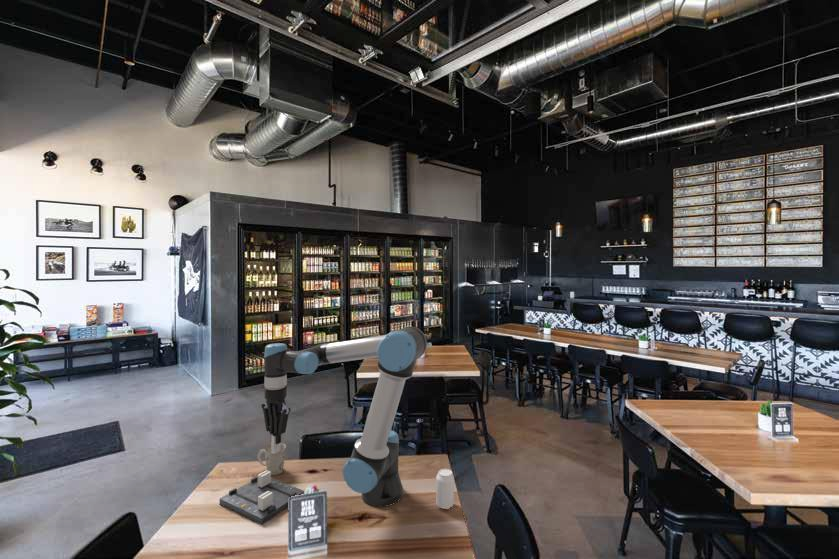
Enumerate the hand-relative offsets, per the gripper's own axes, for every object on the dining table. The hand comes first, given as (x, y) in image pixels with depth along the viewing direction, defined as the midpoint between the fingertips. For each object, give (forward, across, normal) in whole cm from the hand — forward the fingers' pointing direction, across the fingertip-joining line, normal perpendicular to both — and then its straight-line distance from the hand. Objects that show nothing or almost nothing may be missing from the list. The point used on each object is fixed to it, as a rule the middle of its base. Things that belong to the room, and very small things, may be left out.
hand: (275, 451), depth 136 cm
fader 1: (+14, +7, 0) cm, 15 cm away
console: (+16, +2, +4) cm, 17 cm away
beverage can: (+17, -56, -26) cm, 63 cm away
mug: (+16, +16, -11) cm, 26 cm away
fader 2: (+14, -5, +8) cm, 17 cm away
